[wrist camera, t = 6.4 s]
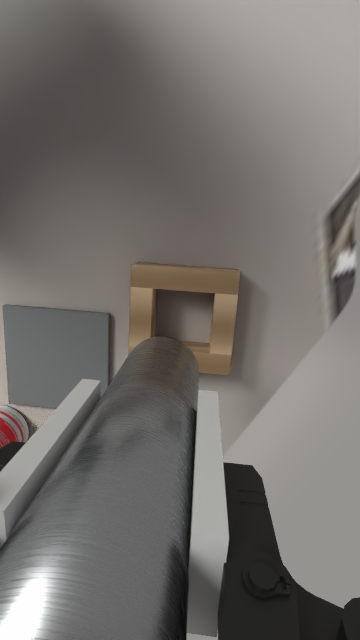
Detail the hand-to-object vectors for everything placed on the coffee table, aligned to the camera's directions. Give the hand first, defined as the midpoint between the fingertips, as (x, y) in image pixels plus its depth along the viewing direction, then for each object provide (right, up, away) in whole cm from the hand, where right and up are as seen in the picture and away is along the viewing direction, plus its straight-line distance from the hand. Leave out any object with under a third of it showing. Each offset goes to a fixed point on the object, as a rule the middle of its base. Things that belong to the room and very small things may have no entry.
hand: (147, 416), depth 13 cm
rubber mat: (-12, 0, +22) cm, 25 cm away
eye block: (+2, +4, +19) cm, 20 cm away
